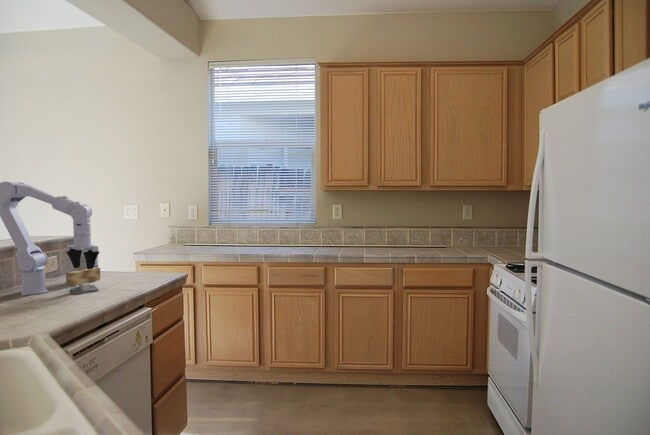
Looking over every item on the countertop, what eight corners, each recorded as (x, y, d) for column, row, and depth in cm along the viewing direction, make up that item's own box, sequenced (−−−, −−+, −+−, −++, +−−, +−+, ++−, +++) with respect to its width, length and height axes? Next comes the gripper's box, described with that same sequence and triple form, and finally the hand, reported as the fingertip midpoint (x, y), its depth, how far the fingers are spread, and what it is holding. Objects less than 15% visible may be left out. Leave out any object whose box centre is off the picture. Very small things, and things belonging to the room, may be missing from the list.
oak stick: (94, 279, 156) (93, 267, 155) (100, 279, 155) (99, 267, 154) (66, 285, 144) (65, 272, 144) (72, 286, 143) (72, 273, 143)
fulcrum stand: (70, 289, 151) (70, 281, 151) (93, 286, 156) (93, 278, 156) (74, 294, 143) (74, 286, 143) (98, 290, 149) (98, 283, 148)
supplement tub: (94, 282, 163) (92, 249, 162) (69, 283, 161) (68, 250, 160) (102, 278, 172) (100, 246, 171) (79, 279, 170) (77, 247, 169)
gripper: (59, 235, 147) (60, 268, 148) (86, 236, 142) (87, 271, 143) (76, 233, 154) (77, 265, 154) (102, 234, 149) (103, 268, 150)
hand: (83, 268), depth 149 cm, fingers open, 7 cm apart
